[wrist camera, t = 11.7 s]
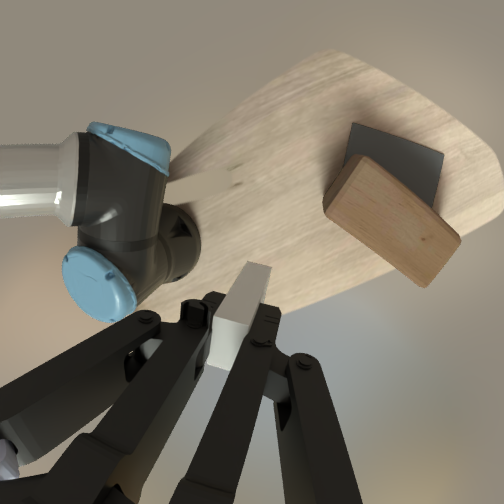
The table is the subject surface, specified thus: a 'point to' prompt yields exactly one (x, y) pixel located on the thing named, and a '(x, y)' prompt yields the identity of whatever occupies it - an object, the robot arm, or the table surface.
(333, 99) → the table surface
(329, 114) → the table surface
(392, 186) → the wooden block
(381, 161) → the mat
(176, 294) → the table surface
